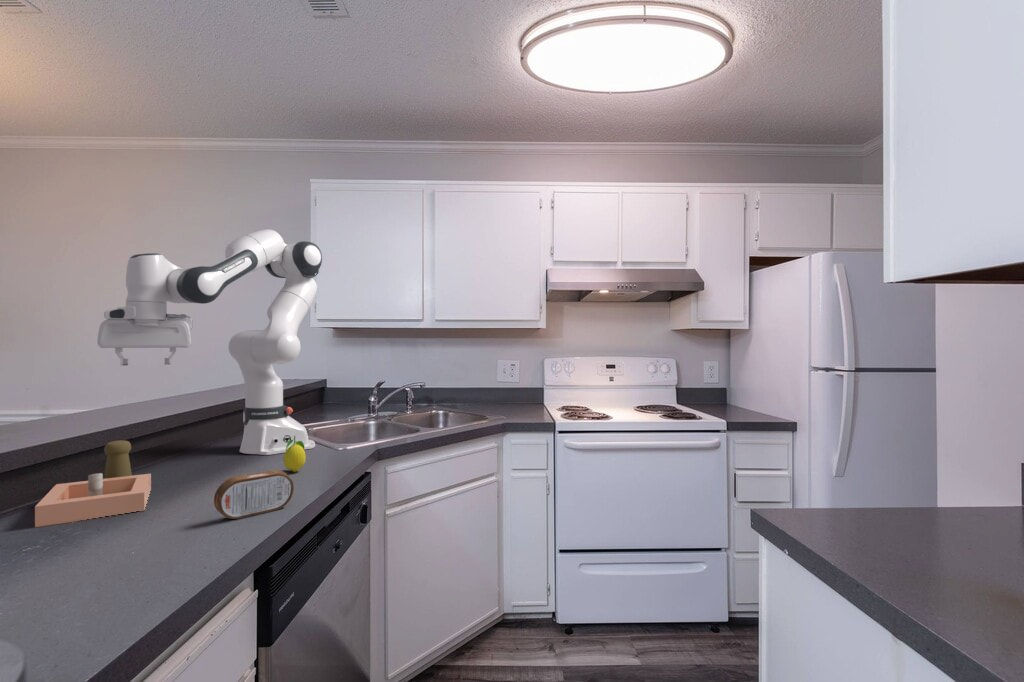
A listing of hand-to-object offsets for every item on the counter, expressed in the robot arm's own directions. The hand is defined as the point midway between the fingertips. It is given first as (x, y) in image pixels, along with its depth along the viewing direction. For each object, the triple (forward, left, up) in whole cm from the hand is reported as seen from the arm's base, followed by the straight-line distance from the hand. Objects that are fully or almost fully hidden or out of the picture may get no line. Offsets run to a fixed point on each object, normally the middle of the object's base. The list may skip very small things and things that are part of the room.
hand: (146, 365), depth 134 cm
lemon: (-34, +19, -29) cm, 49 cm away
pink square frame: (+6, +27, -29) cm, 40 cm away
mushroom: (+7, +27, -29) cm, 40 cm away
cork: (+5, +10, -29) cm, 31 cm away
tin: (-22, +49, -29) cm, 61 cm away
